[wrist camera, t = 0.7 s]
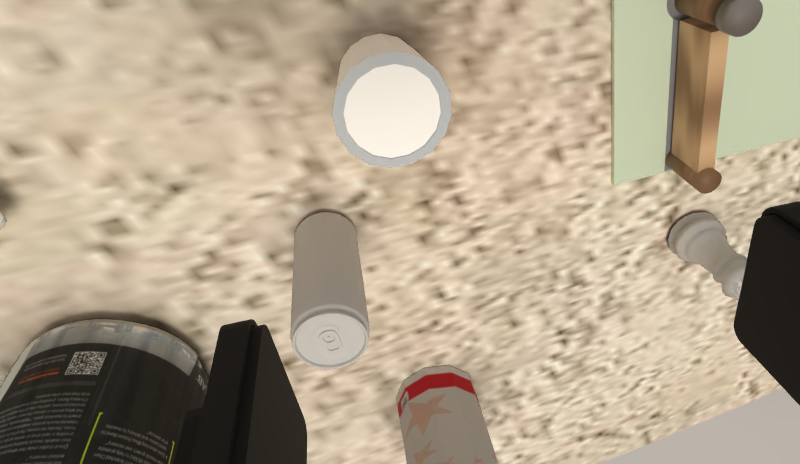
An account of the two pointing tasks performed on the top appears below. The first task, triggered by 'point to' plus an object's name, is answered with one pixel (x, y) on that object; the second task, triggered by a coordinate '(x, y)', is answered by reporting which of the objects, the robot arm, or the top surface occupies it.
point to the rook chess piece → (709, 250)
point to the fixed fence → (698, 94)
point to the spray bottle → (443, 419)
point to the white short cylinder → (389, 102)
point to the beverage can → (328, 293)
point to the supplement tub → (99, 395)
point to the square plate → (2, 220)
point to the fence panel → (738, 16)
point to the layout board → (742, 92)
